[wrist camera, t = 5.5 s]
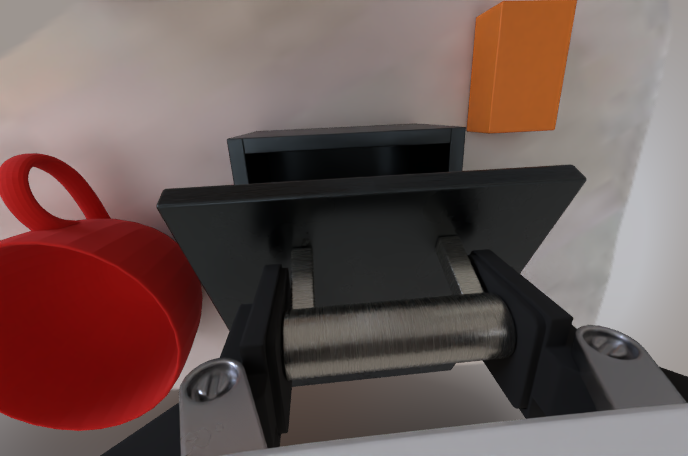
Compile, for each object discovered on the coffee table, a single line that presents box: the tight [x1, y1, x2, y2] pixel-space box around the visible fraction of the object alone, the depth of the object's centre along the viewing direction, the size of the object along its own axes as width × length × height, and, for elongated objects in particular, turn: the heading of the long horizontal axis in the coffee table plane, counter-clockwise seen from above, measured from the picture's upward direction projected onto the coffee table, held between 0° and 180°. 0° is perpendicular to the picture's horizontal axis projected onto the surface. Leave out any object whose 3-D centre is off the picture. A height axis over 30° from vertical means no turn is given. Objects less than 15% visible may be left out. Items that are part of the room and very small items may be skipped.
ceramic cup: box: [0, 153, 202, 431], centre depth 22 cm, size 13×17×10 cm
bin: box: [227, 124, 466, 185], centre depth 23 cm, size 16×13×9 cm
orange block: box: [467, 0, 577, 133], centre depth 23 cm, size 8×5×4 cm, turn 2°
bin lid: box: [157, 165, 586, 387], centre depth 14 cm, size 16×13×5 cm
